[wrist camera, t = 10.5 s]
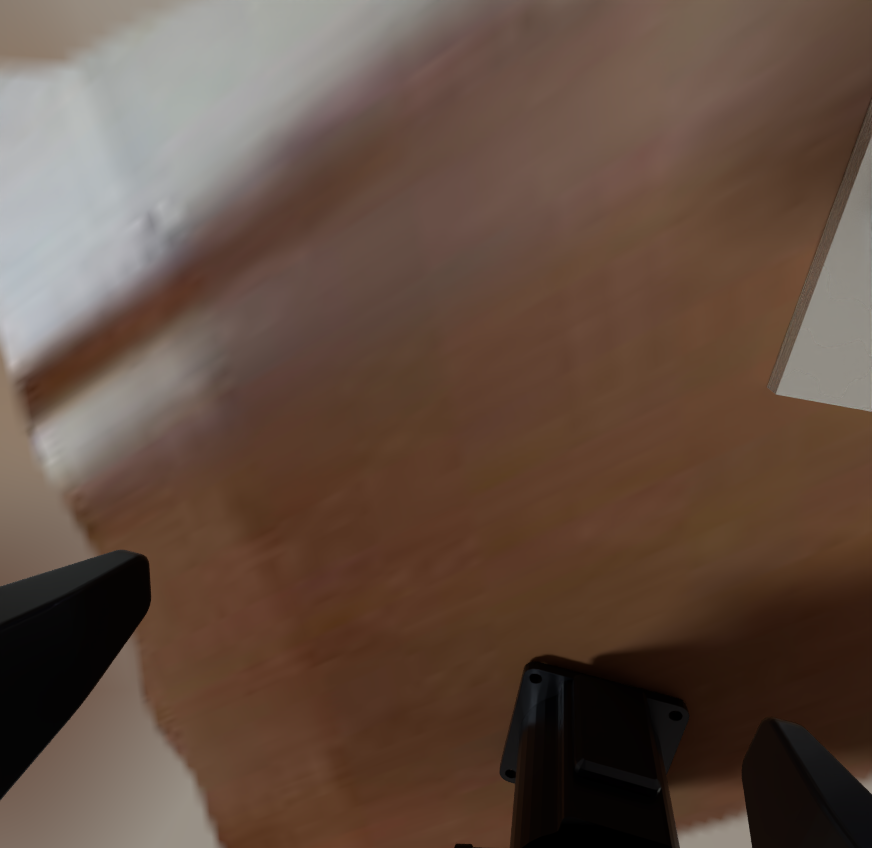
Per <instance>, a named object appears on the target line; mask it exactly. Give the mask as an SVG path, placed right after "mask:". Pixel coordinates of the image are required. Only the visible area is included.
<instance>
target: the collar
mask: <svg viewBox="0 0 872 848" xmlns="http://www.w3.org/2000/svg"><path fill="white" fill-rule="evenodd" d="M767 388H769V389H770V390H771V391H772V392H774V393H775V394H777V395H783V396H788V397H794V398H799V399H805V400H811V401H816V402H822V403H827V404H833V405H838V406H844V407H849V408H855V409H861V410H866V411H872V100H871V103H870V106H869V108H868V111H867V114H866V117H865V119H864V122H863V125H862V128H861V130H860V133H859V136H858V139H857V141H856V144H855V147H854V150H853V152H852V155H851V158H850V161H849V163H848V166H847V169H846V172H845V174H844V177H843V180H842V183H841V185H840V188H839V191H838V194H837V196H836V199H835V202H834V205H833V207H832V210H831V213H830V216H829V218H828V221H827V224H826V227H825V229H824V232H823V235H822V238H821V240H820V243H819V246H818V249H817V251H816V254H815V257H814V260H813V262H812V265H811V268H810V270H809V273H808V276H807V279H806V281H805V284H804V287H803V290H802V292H801V295H800V298H799V301H798V303H797V306H796V309H795V312H794V314H793V317H792V320H791V323H790V325H789V328H788V331H787V334H786V336H785V339H784V342H783V345H782V347H781V350H780V353H779V356H778V358H777V361H776V364H775V367H774V369H773V372H772V375H771V378H770V380H769V383H768V386H767Z"/></svg>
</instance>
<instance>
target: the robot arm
mask: <svg viewBox="0 0 872 848" xmlns="http://www.w3.org/2000/svg"><path fill="white" fill-rule="evenodd" d="M150 602H151V586H150V569H149V561H148V559H147V557H146V556H144V555H142V554H139V553H135V552H131V551H127V550H116V551H113V552H110V553H107V554H103V555H100V556H97V557H94V558H90V559H87V560H84V561H81V562H78V563H74V564H72V565H68V566H65V567H62V568H59V569H55V570H52V571H49V572H45V573H42V574H39V575H36V576H33V577H29V578H27V579H23V580H20V581H17V582H13V583H10V584H7V585H4V586H0V800H1V799H2V798H3V797H4V795H5V794H6V793H7V792H8V791H9V789H10V788H11V787H12V786H13V785H14V784H15V783H16V781H17V780H18V779H19V778H20V777H21V776H22V774H23V773H24V772H25V771H26V770H27V768H28V767H29V766H30V765H31V764H32V763H33V761H34V760H35V759H36V758H37V757H38V755H39V754H40V753H41V752H42V751H43V750H44V748H45V747H46V746H47V745H48V744H49V743H50V741H51V740H52V739H53V738H54V736H55V735H56V734H57V733H58V732H59V731H60V730H61V728H62V727H63V726H64V725H65V724H66V723H67V721H68V720H69V719H70V718H71V717H72V715H73V714H74V713H75V712H76V710H77V709H78V708H79V707H80V706H81V704H82V703H83V702H84V700H85V699H86V698H87V697H88V695H89V694H90V692H91V691H92V690H93V689H94V687H95V686H96V684H97V683H98V682H99V680H100V679H101V677H102V676H103V675H104V673H105V672H106V670H107V669H108V667H109V666H110V665H111V663H112V661H113V660H114V659H115V658H116V656H117V655H118V653H119V652H120V650H121V649H122V648H123V646H124V645H125V643H126V642H127V641H128V639H129V638H130V636H131V635H132V634H133V632H134V631H135V629H136V628H137V627H138V625H139V624H140V622H141V621H142V619H143V618H144V617H145V615H146V613H147V611H148V609H149V606H150ZM532 674H538V675H540V676H533V675H532ZM671 711H679V712H676V713H672V712H671ZM688 720H689V713H688V709H687V706H686V704H685V703H684V702H683V701H682V700H680V699H678V698H674V697H670V696H667V695H663V694H659V693H655V692H651V691H647V690H644V689H640V688H636V687H632V686H628V685H624V684H621V683H617V682H613V681H609V680H605V679H601V678H597V677H594V676H590V675H586V674H582V673H578V672H574V671H571V670H567V669H563V668H559V667H555V666H551V665H548V664H544V663H540V662H530V663H528V664H526V665H525V667H524V670H523V674H522V678H521V682H520V686H519V690H518V694H517V698H516V702H515V707H514V711H513V715H512V719H511V723H510V727H509V731H508V735H507V739H506V743H505V747H504V751H503V755H502V759H501V763H500V775H501V777H502V778H503V779H504V780H506V781H508V782H511V783H515V792H514V804H513V816H512V828H511V840H510V848H680V846H679V841H678V835H677V830H676V825H675V819H674V814H673V809H672V803H671V798H670V793H669V787H668V782H667V777H666V775H667V772H668V770H669V767H670V765H671V762H672V760H673V757H674V755H675V752H676V750H677V747H678V745H679V742H680V740H681V737H682V735H683V732H684V730H685V727H686V725H687V722H688ZM742 782H743V789H744V796H745V802H746V809H747V816H748V822H749V829H750V836H751V842H752V848H872V794H871V793H870V792H869V791H868V790H867V789H866V788H865V787H864V786H863V785H862V784H861V783H860V782H859V781H858V780H857V779H856V778H855V777H854V776H853V775H852V774H851V773H850V772H849V771H848V770H847V769H846V768H845V767H844V766H843V765H842V764H841V763H840V762H839V761H838V760H837V759H836V758H835V757H834V756H833V755H832V754H831V753H830V752H829V751H828V750H827V749H826V748H824V747H823V746H822V745H821V744H820V743H819V742H818V741H817V740H816V739H815V738H814V737H813V736H812V735H811V734H810V733H809V732H808V731H807V730H806V729H805V728H804V727H803V726H801V725H799V724H797V723H793V722H789V721H786V720H782V719H778V718H774V717H767V718H765V719H764V720H762V722H761V723H760V725H759V727H758V729H757V732H756V734H755V736H754V738H753V740H752V742H751V745H750V747H749V749H748V751H747V753H746V755H745V758H744V760H743V765H742ZM454 848H480V847H473V846H472V844H456V845H455V847H454Z"/></svg>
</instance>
